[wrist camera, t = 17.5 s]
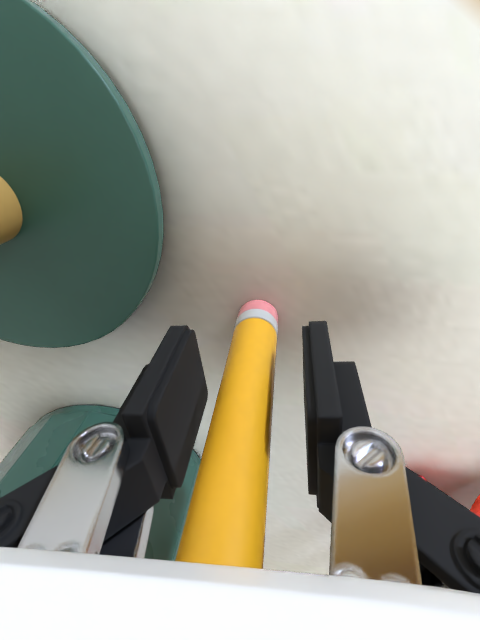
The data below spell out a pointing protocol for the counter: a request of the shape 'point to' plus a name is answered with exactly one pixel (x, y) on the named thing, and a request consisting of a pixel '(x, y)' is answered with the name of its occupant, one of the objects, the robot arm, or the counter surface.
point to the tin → (49, 448)
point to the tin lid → (69, 190)
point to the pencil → (236, 451)
